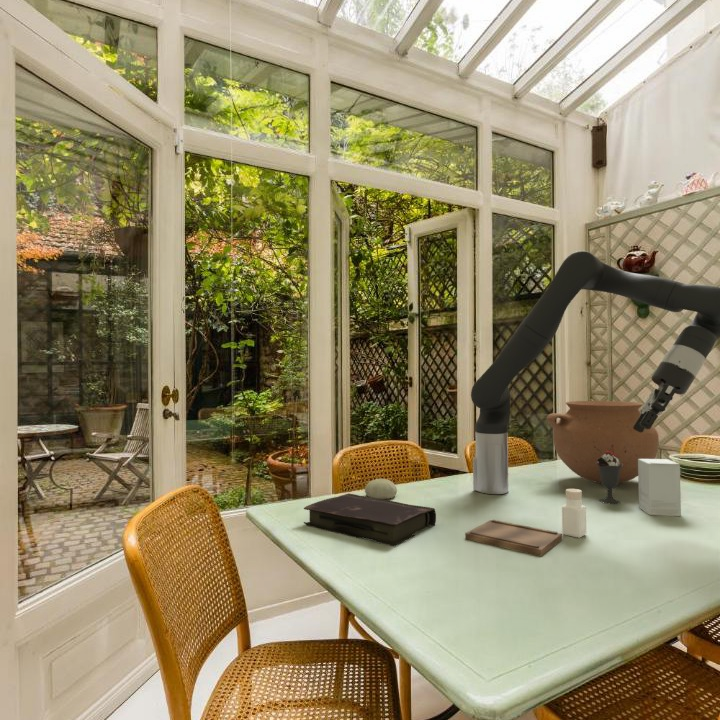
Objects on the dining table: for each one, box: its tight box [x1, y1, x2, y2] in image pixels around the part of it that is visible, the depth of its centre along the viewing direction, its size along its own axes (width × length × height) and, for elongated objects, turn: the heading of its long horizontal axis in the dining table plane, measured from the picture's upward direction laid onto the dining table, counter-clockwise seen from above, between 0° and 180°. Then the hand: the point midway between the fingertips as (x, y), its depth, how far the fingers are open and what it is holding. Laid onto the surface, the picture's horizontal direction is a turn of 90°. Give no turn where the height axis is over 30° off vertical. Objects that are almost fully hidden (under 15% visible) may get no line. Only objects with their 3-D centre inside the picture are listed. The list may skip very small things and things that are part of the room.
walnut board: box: [464, 519, 563, 557], centre depth 106 cm, size 16×12×2 cm
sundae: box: [596, 445, 623, 505], centre depth 136 cm, size 7×7×15 cm
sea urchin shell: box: [364, 478, 398, 500], centre depth 143 cm, size 9×8×8 cm
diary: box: [303, 492, 437, 547], centre depth 117 cm, size 19×25×5 cm
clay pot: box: [546, 400, 660, 485], centre depth 158 cm, size 34×30×25 cm
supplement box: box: [637, 458, 682, 517], centre depth 126 cm, size 7×7×13 cm
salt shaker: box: [561, 488, 587, 539], centre depth 109 cm, size 4×4×10 cm
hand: (640, 429), depth 115 cm, fingers open, 8 cm apart
